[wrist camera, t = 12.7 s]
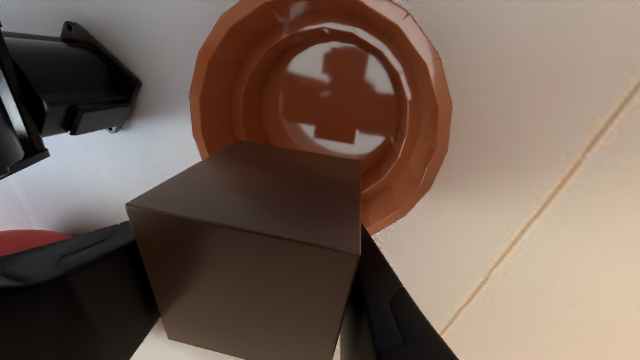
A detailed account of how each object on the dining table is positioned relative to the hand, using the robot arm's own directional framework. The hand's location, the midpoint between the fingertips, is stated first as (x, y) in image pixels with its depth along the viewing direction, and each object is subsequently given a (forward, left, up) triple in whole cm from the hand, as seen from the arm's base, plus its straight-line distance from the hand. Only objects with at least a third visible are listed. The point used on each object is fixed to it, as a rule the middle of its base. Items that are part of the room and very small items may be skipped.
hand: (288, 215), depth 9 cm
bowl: (-1, +2, -11) cm, 11 cm away
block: (0, 0, -1) cm, 1 cm away
